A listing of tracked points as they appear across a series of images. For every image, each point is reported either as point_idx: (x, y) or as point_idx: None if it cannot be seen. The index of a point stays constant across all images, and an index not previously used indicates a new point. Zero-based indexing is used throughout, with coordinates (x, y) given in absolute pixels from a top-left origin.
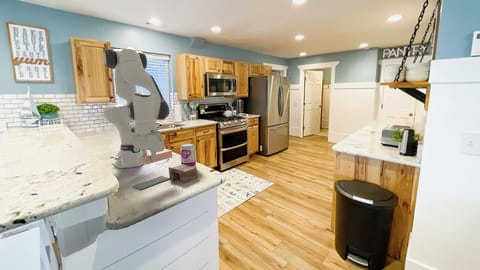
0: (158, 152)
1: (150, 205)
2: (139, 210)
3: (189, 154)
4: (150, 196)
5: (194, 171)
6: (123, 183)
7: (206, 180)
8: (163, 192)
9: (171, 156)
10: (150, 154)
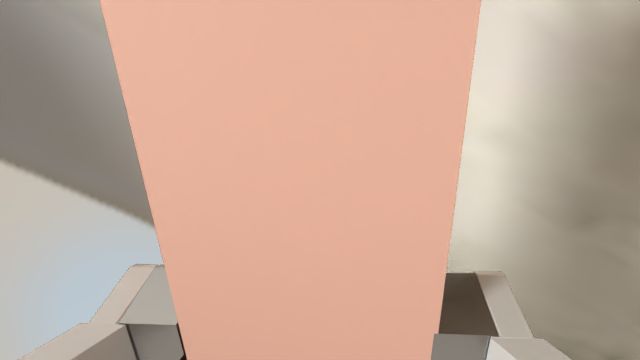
0: (259, 38)
1: (633, 286)
2: (611, 344)
3: None
4: (508, 211)
5: None
6: (46, 178)
7: None
8: (557, 110)
9: None
10: (291, 329)
